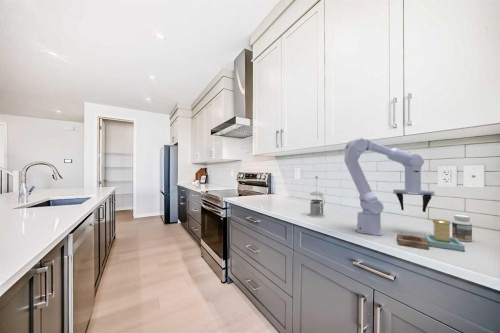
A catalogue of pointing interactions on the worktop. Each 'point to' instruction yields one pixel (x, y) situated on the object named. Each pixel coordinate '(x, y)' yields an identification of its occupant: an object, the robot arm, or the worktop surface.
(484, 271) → the worktop surface
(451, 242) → the tray
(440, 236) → the brass pin
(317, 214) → the french press
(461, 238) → the pill bottle
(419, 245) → the holder block
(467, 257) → the worktop surface
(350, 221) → the worktop surface
